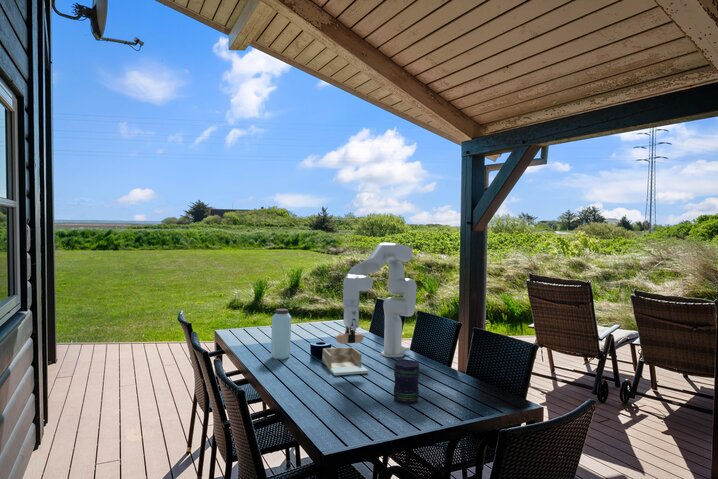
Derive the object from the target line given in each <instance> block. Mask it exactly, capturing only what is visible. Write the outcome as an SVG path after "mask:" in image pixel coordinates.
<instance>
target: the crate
mask: <svg viewBox="0 0 718 479" xmlns="http://www.w3.org/2000/svg"><path fill="white" fill-rule="evenodd" d="M321 361H322V364H324V366H325V367H326V368H327V369H328V370H329V371H330V368H337V367H352V366H362V353H361V352H360V351H359V350H358V349H356V348H355V347H354V346H349V347H348V346H346V347H326V348H322V359H321Z"/></svg>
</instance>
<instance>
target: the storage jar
mask: <svg viewBox="0 0 718 479" xmlns="http://www.w3.org/2000/svg"><path fill="white" fill-rule="evenodd" d="M401 358H405V355H404V356H402V357H401ZM393 371H394V373H393V376H394V386H393V402H395V404H398V405H400V406H414V405H418V403H419V396H420V393H419V392H420V391H419V378H420V362H419V361H417V360H413V359H398V360H395V361H394V369H393Z"/></svg>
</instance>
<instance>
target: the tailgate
mask: <svg viewBox="0 0 718 479" xmlns="http://www.w3.org/2000/svg"><path fill="white" fill-rule="evenodd" d="M329 371H330V373H331V374H333V376H345V375H360V374H369V370H368V369H367V368H366V367H364V366H363V365H361V366H352V367H337V368H330V370H329Z"/></svg>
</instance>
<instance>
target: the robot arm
mask: <svg viewBox="0 0 718 479" xmlns="http://www.w3.org/2000/svg"><path fill="white" fill-rule="evenodd" d="M413 255H414V254H413V249H412V247H410V246H408V245H405V244H402V243H401V244H400V243H394V242H381V243H378V244H377V245H376V246H375V248H374V249H373V250H372V252H371V253H370V254H369V255H368V257H367V258H366V259H365V260H362V261H360V262H359V263H357V264H356V265H354V266H352V267H351V268H350V269H349V271H348V272H347V274H345V277H344V278H343V288H342V291H343V293H342V297H343V299H342V300H343V301H342V306H343V307H344V308H343V325H344V326H345V327H344V328H345V329H344V333H349V334H348V343H347V344H356V343H355V333H356V331H357V329H358V328H359V327H360V317H359V315H360V313H359V311H360V310H359V306H360V292H369V291H370V290H371V289H372V288H373V284H374V282H373V279H372V278H371V277H370V276H368V275H371V274H374V273H378V272H379V271H380V270H381V269H382V268H383V267H384V265H385V263H386V264H387V266H388V280H387V291H388V293H389V294H390V295H395V296H389V297H387V298H385V299H384V300H383V303H382V306H383V312H384V330H383V331H384V333H383V334H384V335H383V336H384V337H383V339H384V340H383V350H382V351H381V352H380V355H381V356H383V357H386V358H402V356H405V352H409V351H410V347H405V346H402V343H403V342H402V339H403V338H402V337H403V335H402V334H403V333H402V332H403V321H402V318H401V317H400V316H402V317H412V316H414V313H415V310H416V301H417V300H416V298H417V283H416V281H415V280H414V279H413V278H408V277H405V266H404V265H403V262H404V263H408V262H410V261H411V260H412V259H413ZM397 296H404V297H397Z"/></svg>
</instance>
